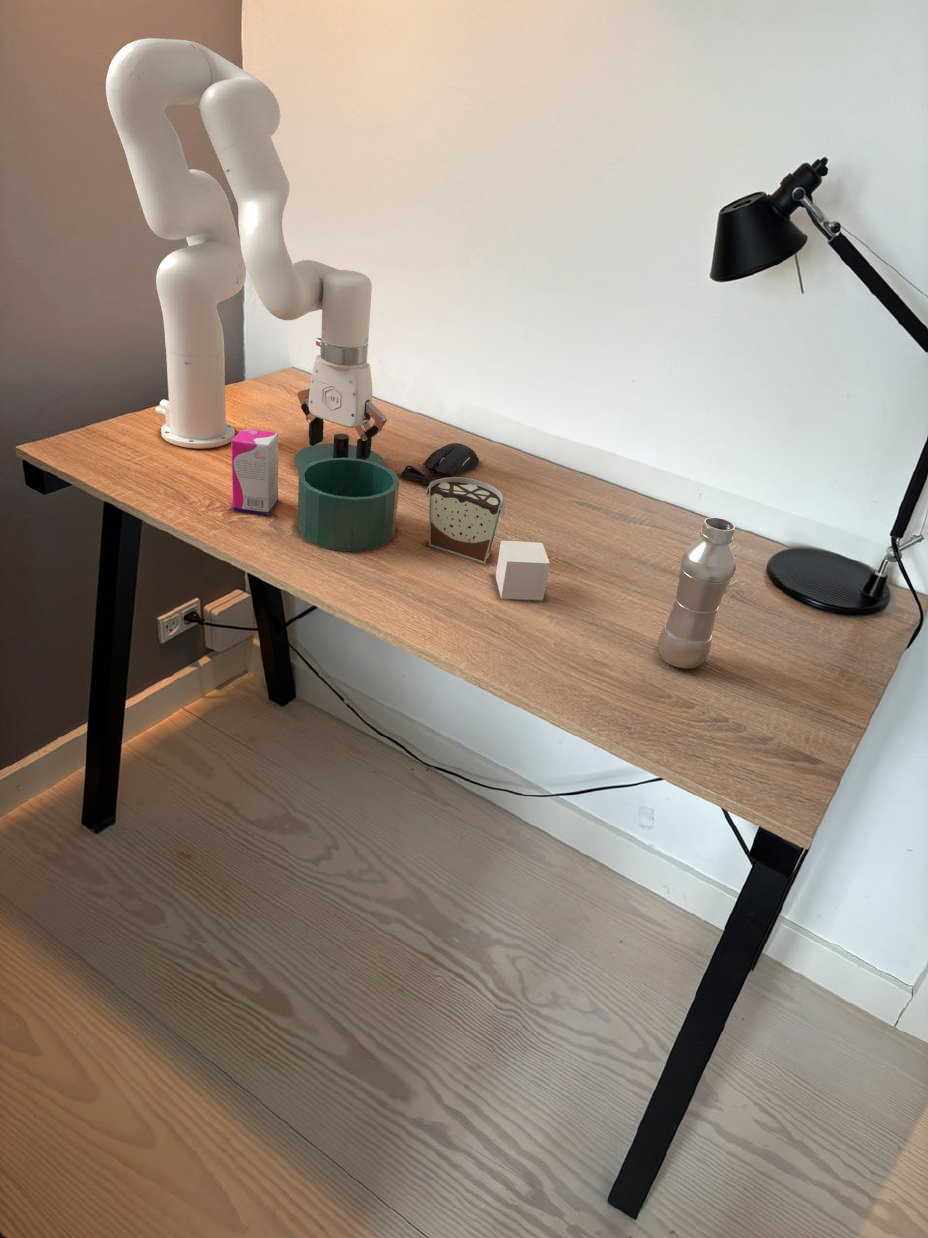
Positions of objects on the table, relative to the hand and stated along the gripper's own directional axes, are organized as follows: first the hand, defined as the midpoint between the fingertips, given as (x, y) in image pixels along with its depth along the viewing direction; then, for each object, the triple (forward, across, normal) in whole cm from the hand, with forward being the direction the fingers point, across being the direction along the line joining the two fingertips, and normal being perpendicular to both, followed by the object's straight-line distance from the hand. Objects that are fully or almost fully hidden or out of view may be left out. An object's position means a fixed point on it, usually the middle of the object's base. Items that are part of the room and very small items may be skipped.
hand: (339, 451), depth 160 cm
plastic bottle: (+3, +68, -20) cm, 71 cm away
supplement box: (+3, -1, -21) cm, 21 cm away
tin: (+3, +14, -18) cm, 23 cm away
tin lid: (+2, 0, 0) cm, 2 cm away
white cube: (+3, +43, -17) cm, 46 cm away
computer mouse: (+3, +17, +11) cm, 21 cm away
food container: (+3, +31, -11) cm, 33 cm away
